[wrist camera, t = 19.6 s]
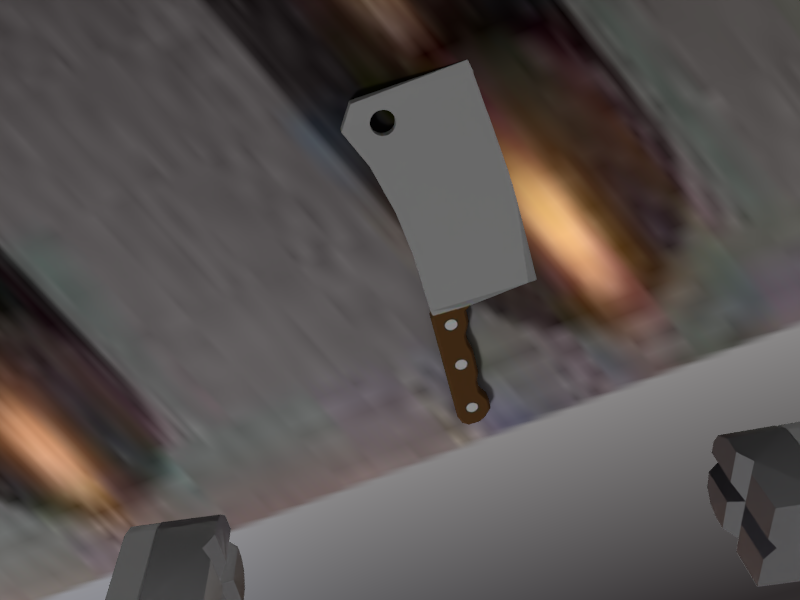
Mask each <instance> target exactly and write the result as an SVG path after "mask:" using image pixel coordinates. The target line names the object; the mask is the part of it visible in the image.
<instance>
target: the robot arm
mask: <svg viewBox="0 0 800 600" xmlns="http://www.w3.org/2000/svg"><path fill="white" fill-rule="evenodd" d="M712 454H713V455H714V457H715V458H716V460H717V462H718V463H717V464H716V465H715V466H714V467H713V468H712V469H711V470H710V471H709V475H708V485H707V488H708V493H709V499H710V504H711V506H712V509H713V511H714V514H715V516H716V518H717V520H718V521H719V523H720V525H721V527H722V528H723V529H724V530H726V531H728V532H729V533H731V534H732V535H734V536H736V537H737V538H739V539H738V544H737V550H736V552H737V553H738V555H739V557H740V559H741V560H742V562H743V563H744V565H745V567H746V568H747V570H748V572H749V573H750V575H751V577H752V579H753V580H754V582H755V584H756V585H757V586H766V585H774V584H781V583H789V582H796V581H800V422H796V423H790V424H784V425H779V426H770V427H764V428H758V429H753V430H747V431H741V432H735V433H730V434H723V435H718V436H717V438H716V439H715V440H714V443H713V449H712ZM230 531H231V528H230V526H229V523H228V521H227V519H226V517H225V515H214V516H206V517H199V518H191V519H183V520H176V521H168V522H161V523H157V524H149V525H142V526H135V527H131V528H130V529H129V530H128V532H127V533H126V535H125V536H124V539H123V542H122V546H121V549H120V552H119V556H118V559H117V562H116V566H115V569H114V572H113V576H112V579H111V582H110V585H109V589H108V592H107V596H106V599H105V600H244V591H245V582H244V568H243V562H242V558H241V555H240V552H239V549H238V547H237V546H236V545H234V544H232V543H231V542H229V538H230Z"/></svg>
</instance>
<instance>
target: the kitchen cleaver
mask: <svg viewBox="0 0 800 600" xmlns="http://www.w3.org/2000/svg"><path fill="white" fill-rule="evenodd" d="M379 110H388V111H390V112H392V113H393V115H394V116H395V123H394V126H393V127H392V129H390V130H389V131H387V132H385V133H379V132H376V131H374V130H373V129H372V128H371V127H370V119H371V117H372V115H373V114H374V113H375V112H377V111H379ZM341 132H342V134H343V135H344V136H345V137H346V138H347V140H348V141H349V142H350V143H351V145H352V146H353V147H354V148H355V149H356V151H357V152H358V153H359V154H360V155H361V157H362V158H363V159H364V160H365V161H366V163H367V164H368V165H369V166H370V168H371V169H372V171H373V173H374V175H375V177H376V178H377V180H378V182H379V184H380V185H381V187H382V189H383V191H384V193H385V194H386V196H387V198H388V200H389V201H390V203H391V205H392V207H393V208H394V210H395V212H396V214H397V217H398V219H399V221H400V224H401V226H402V229H403V231H404V234H405V236H406V238H407V241H408V243H409V246H410V248H411V251H412V253H413V256H414V260H415V263H416V266H417V269H418V272H419V276H420V279H421V282H422V285H423V289H424V292H425V295H426V298H427V301H428V305H429V308H430V313H429V314H430V318H431V321H432V325H433V329H434V332H435V336H436V340H437V343H438V347H439V351H440V354H441V358H442V362H443V365H444V369H445V373H446V377H447V380H448V384H449V388H450V391H451V395H452V399H453V402H454V406H455V410H456V413H457V416H458V418H459V419H460V420H461V421H462V423H466V424H472V423H475V422H479V421H480V420H482V419H483V418H484V417H485V416H486V414H487V412H488V411H489V409H490V403H489V399H488V396H487V394H486V392H485V391H484V390H483V389H482V388H481V387H479V386H478V382H477V377H478V369H477V365H476V361H475V357H474V352H473V349H472V347H471V345H470V343H469V342H468V340H467V337H466V330H467V326H468V322H469V321H468V317H467V312H466V309H468V307H469V306H470V305H472V304H475V303H477V302H480V301H482V300H485V299H487V298H490V297H492V296H495V295H497V294H500V293H503V292H505V291H508V290H510V289H513V288H515V287H518V286H520V285H523V284H525V283H528V282H531V281H534V280H537V279H536V275H535V271H534V267H533V263H532V259H531V255H530V251H529V247H528V243H527V239H526V235H525V231H524V227H523V223H522V219H521V215H520V211H519V207H518V203H517V199H516V196H515V192H514V189H513V185H512V182H511V179H510V175H509V172H508V169H507V166H506V163H505V161H504V158H503V155H502V152H501V149H500V146H499V144H498V141H497V138H496V135H495V132H494V130H493V127H492V124H491V121H490V118H489V115H488V113H487V111H486V108H485V105H484V102H483V99H482V97H481V94H480V91H479V88H478V85H477V83H476V80H475V77H474V75H473V70H472V68H471V66H470V64H469V62H468V60H465V61H462V62H459V63H456V64H453V65H451V66H448V67H445V68H442V69H439V70H436V71H433V72H430V73H428V74H425V75H422V76H419V77H416V78H413V79H410V80H407V81H404V82H402V83H399V84H396V85H393V86H390V87H387V88H384V89H381V90H379V91H376V92H373V93H370V94H367V95H364V96H361V97H358V98H355V99H353V100H350V101H349V103H348V107H347V110H346V113H345V116H344V119H343V122H342V125H341Z"/></svg>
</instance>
